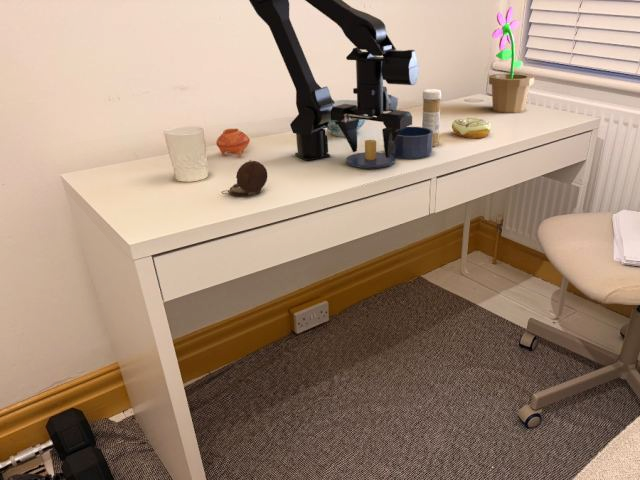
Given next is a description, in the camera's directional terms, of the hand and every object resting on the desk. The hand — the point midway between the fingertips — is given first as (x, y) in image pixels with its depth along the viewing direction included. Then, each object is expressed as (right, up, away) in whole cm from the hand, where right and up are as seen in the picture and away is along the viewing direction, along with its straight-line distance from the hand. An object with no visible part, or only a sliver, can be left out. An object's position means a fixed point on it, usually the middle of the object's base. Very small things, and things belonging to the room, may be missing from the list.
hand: (371, 154), depth 127 cm
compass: (-25, -12, -18) cm, 33 cm away
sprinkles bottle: (+15, +6, +15) cm, 22 cm away
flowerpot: (+44, +28, +55) cm, 75 cm away
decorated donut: (+27, +11, +25) cm, 38 cm away
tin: (+9, +2, +8) cm, 13 cm away
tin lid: (0, -1, +1) cm, 1 cm away
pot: (-33, +2, +8) cm, 34 cm away
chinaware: (-8, +12, +27) cm, 31 cm away
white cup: (-38, -7, -8) cm, 40 cm away
